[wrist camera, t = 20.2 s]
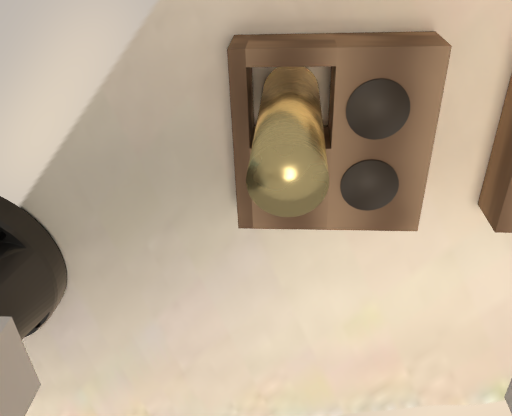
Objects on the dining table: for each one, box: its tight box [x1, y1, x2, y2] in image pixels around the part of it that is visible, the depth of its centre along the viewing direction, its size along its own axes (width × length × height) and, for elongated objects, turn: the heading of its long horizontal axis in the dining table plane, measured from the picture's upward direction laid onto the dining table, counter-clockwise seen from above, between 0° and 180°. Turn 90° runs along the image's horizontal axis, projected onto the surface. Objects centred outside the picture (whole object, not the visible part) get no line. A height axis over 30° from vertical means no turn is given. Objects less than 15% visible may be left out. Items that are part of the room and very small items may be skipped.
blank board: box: [227, 32, 452, 231], centre depth 30 cm, size 12×12×4 cm
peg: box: [246, 67, 329, 217], centre depth 25 cm, size 4×4×12 cm
